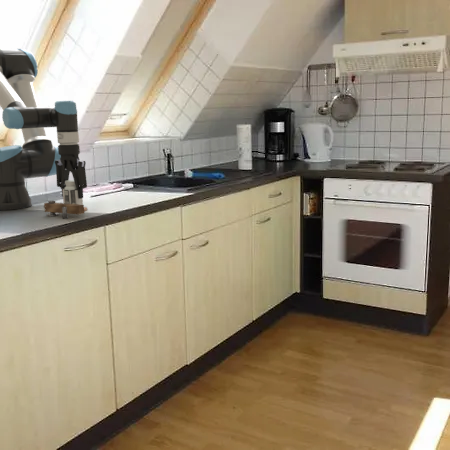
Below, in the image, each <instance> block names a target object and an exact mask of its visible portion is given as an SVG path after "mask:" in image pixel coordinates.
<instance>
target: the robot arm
mask: <svg viewBox="0 0 450 450" xmlns="http://www.w3.org/2000/svg"><path fill="white" fill-rule="evenodd" d="M38 72H39V71H38V63H37V60H36V57H35V55H34V54H33V53H32V52H31V51H30V50H27V49H21V48H16V49H15V48H0V107H1V110H2V121H3V125H4V126H5V128H6V129H11V130H12V129H14V130H15V129H16V130H21V131H22V137H23V141H24V143H23V144H22V146H21V145H19V144H18V145H16V144H15V145H9V146H8V145H7V146H2V147H0V211H6V210H9V211H10V210H19V209H26V208H29V207H31V206H32V205H33V204H32V199H31V198H30V194H29V192H28V190H27V188H26V179H31V178H41V177H43V178H44V177H45V178H47V177H50V176H55V175H56V187H59V188H60V189H61V197H62V199H63V200H62V201H63V203H65V192H64V188H65V187H66V185H65V181H67V180H70V173H71V175H72V178H73V180H74V182H75V185H76V189H75V198H76V204H78V205H84V202H83V199H84V190H85V189H87V188H88V183H87V174H86V160H80V157H79V155H80V153H81V149H80V144H79V143H80V138H79V124H78V109H77V103H76V101H75V100H55V102H54V106H53V105H52V106H49V105H48V106H39V104H38V100H37V97H36V94H35V89H34V86H33V84H34V83H35V81H36V78H37V76H38ZM45 128H56V137H57V143H58V145H57V146H55V145H53V142H52V140H51V139H50V138H48V137H47V134H46V130H45Z"/></svg>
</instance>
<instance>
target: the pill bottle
mask: <svg viewBox="0 0 450 450" xmlns="http://www.w3.org/2000/svg"><path fill="white" fill-rule="evenodd" d="M65 185H66V187H65V188H64V192H65V204H76V198H75V189H76V185H75V182H74V179H69V180H67V181H65Z"/></svg>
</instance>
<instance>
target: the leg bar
mask: <svg viewBox="0 0 450 450" xmlns="http://www.w3.org/2000/svg"><path fill="white" fill-rule="evenodd" d="M43 205H44V206H43V207H44V212H45V213H46V212H47V213H50V212H55V213H59V214H63V213H62V207H67V215H68V214H69V215H79V216H80V215H83V214H85V211H84V207H85V206H84V204H83V205H78V204H65V203H64V202H63V203H61V202H56V200H49V201H48V202H45V203H43Z"/></svg>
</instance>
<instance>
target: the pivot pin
mask: <svg viewBox="0 0 450 450" xmlns="http://www.w3.org/2000/svg"><path fill="white" fill-rule="evenodd" d="M46 216H47V217H56V216H57V217H58V216H60V213H55V212H49V213H47V214H46Z"/></svg>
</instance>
